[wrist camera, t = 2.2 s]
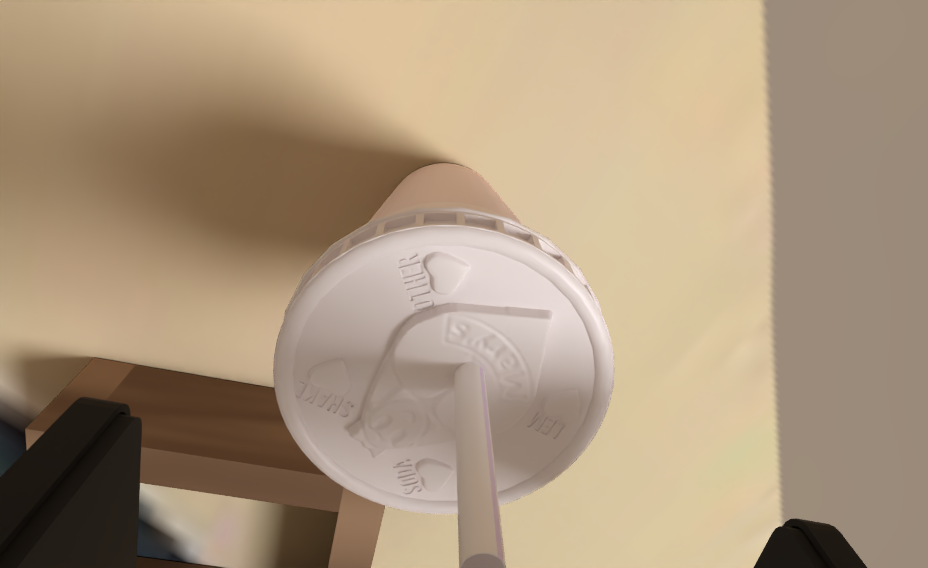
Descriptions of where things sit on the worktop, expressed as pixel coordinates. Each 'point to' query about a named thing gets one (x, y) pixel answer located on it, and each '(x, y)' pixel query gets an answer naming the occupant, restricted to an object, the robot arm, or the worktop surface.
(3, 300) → the worktop surface
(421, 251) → the smoothie
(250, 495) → the wooden frame
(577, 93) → the worktop surface
